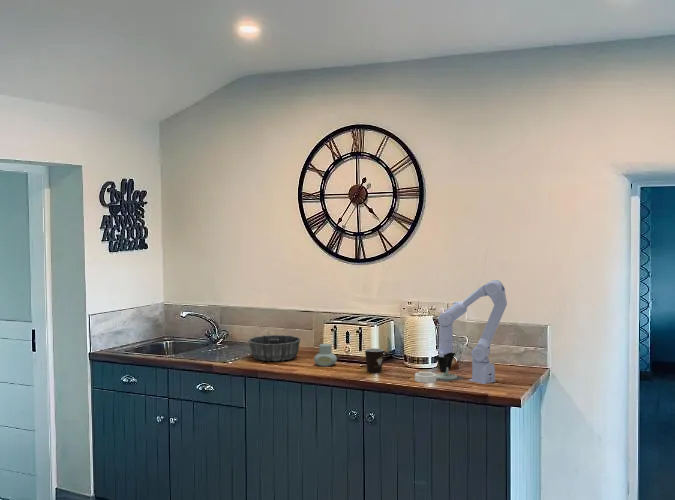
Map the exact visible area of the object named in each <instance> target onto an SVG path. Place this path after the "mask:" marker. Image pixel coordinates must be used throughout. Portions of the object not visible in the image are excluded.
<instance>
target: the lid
mask: <svg viewBox="0 0 675 500" xmlns="http://www.w3.org/2000/svg"><path fill="white" fill-rule="evenodd" d="M435 374H436V380H437V379H442V380H452V381H454V380H453V379H457V376H458V375H457V374H454V373H449V370H448V367H447V368H446V372H445V373H443V372H440V373H435Z"/></svg>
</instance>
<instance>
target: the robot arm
mask: <svg viewBox="0 0 675 500" xmlns="http://www.w3.org/2000/svg"><path fill="white" fill-rule="evenodd" d="M487 296H488V297H489V298H490V299H491V301H492V302H493V307H492V310H491V312H490V314H489V317H488V319H487V322H486V323H485V324H486V325H485V327H484V329H483V332H482V334H481V336H480V337H479V340H478V342H477V343H476V346H474V347H473V348H472V349H471V352H470V353H471V355H470V356H471V378H469V379H467V381H470V382H474V383H478V384H483V385H485V384H490V383H495V382H497V380H496V368H495V365H494V363H492V362H490V359H489V355H490V353H491V349H490V348H491V345H492V341H493V338H494V336H495V333H496V332H497V329H498V327H499V324H500V321H501V320H502V317H503V315H504V312H505V310H506V308H507V305H508V301H507V295H506V288H505V286H504V285H503V283H502V281H500V280H498V279H493V280H491V281H488V282H487V283H485V284H483V285H482V286H480V287H478V288H477V289H475V290H474V291H473V292H472V293H471V294H469V296H467V298H465V299H464V300H461V301H460V300H459V301H455V302H453V303H452V304H453V305H451V306H450V307H449V308H446V309H444V312H442V313H440V315H439V316H438V319H437V322H438V324H439V331H438V332H439V335H438V337H439V338H438V340H439V341H438V342H439V343H438V345H439V346H438V348H437V349H436V351H437V352H438V355H436V356H435V359H436V360H437V363H439V367H440V369H439V370H440V373H445V372H446V368H447V367H448V369H451V364H452V360H453V358H454V357H455V355H456V352H454V350H453V334H454V333H453V332H454V330H453V324H454V322H455V321H457V320H458V319H459V318H460V317H461V316H463V315H464V314H465V313H467V311H468V307H469V306H471V305H473V303H475V302H476V301H477V300H479V299H480V298H482V297H487Z"/></svg>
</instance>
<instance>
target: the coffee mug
mask: <svg viewBox="0 0 675 500" xmlns="http://www.w3.org/2000/svg"><path fill="white" fill-rule="evenodd" d="M364 353H365V363H366V364H365V365H366V370H367V373H368V372H369V374H380V373H382V367H383V363H384V362H385V361H386V359H387V357H388V353H387V351H385V349H382V348H375V347H373V348H366V349H364ZM384 354H385V356H384Z"/></svg>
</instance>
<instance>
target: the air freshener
mask: <svg viewBox="0 0 675 500" xmlns="http://www.w3.org/2000/svg"><path fill="white" fill-rule="evenodd" d="M332 347H333V346H332V344H330V343H321V344H319V347H318V349H319V351H318V353H317V354H316V355H315V356H314V357H313V360H314V361H313V362H314V363H315V364H316V365H318V366H320V367H324V368H325V367H331V366H333V365H335V364H336V362H338V357H337V356H336V355H335V354H334V353H333V351H332V350H333V349H332Z"/></svg>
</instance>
